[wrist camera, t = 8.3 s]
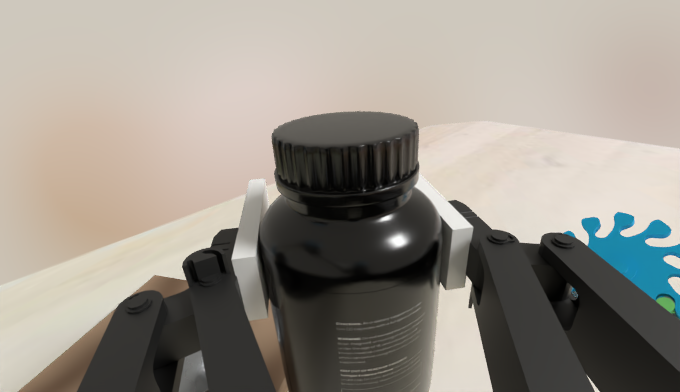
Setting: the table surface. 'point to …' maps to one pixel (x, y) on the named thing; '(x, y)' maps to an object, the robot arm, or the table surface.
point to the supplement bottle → (352, 255)
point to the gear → (638, 257)
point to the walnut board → (69, 369)
